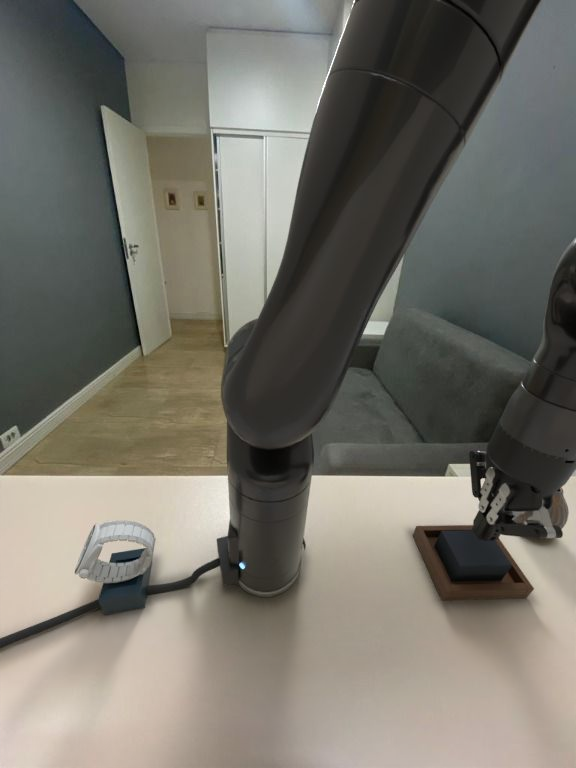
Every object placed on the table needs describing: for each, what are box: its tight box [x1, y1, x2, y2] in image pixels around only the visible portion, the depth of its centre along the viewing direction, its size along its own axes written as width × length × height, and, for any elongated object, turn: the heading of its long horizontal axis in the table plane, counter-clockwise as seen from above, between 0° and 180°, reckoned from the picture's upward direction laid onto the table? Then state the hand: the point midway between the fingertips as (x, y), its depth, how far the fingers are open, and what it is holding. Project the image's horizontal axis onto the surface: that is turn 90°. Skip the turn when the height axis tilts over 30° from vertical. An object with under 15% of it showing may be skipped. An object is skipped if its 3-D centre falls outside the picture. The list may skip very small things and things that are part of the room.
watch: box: [74, 519, 157, 616], centre depth 36 cm, size 6×8×11 cm
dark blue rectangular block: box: [434, 530, 512, 581], centre depth 42 cm, size 7×5×4 cm
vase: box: [514, 486, 570, 530], centre depth 48 cm, size 7×7×9 cm
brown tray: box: [412, 524, 535, 601], centre depth 43 cm, size 12×9×2 cm
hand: (482, 535), depth 40 cm, fingers closed
